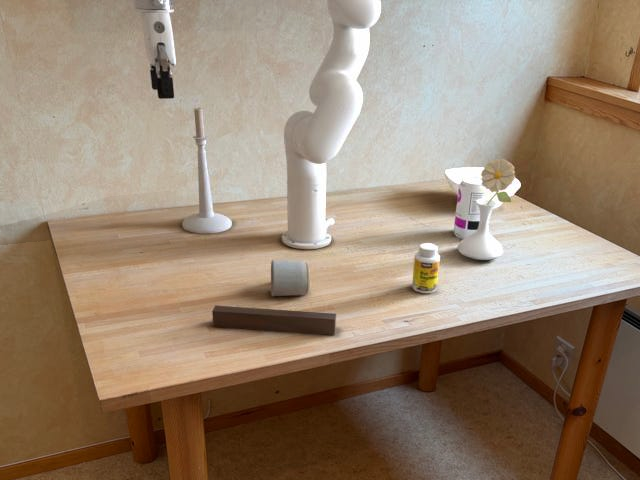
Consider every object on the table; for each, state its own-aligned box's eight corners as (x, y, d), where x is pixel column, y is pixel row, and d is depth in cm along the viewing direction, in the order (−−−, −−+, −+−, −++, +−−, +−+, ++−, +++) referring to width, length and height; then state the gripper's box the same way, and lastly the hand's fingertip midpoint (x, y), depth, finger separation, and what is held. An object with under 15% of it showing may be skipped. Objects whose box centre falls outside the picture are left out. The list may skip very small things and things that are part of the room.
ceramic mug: (311, 300, 147) (311, 266, 143) (272, 301, 146) (271, 268, 142) (305, 280, 156) (305, 248, 152) (269, 281, 154) (268, 249, 151)
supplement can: (449, 237, 183) (456, 182, 175) (458, 228, 189) (464, 174, 182) (479, 243, 180) (487, 187, 173) (487, 233, 187) (494, 178, 179)
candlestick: (172, 224, 182) (159, 105, 166) (211, 213, 190) (202, 99, 175) (202, 237, 175) (192, 115, 159) (241, 225, 183) (235, 108, 168)
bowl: (434, 195, 213) (437, 167, 209) (496, 193, 218) (500, 166, 214) (457, 218, 196) (461, 188, 192) (524, 215, 201) (529, 186, 197)
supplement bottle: (415, 295, 152) (419, 251, 147) (409, 284, 156) (412, 242, 151) (439, 293, 153) (444, 250, 148) (432, 283, 158) (436, 241, 152)
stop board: (216, 320, 137) (215, 305, 136) (335, 329, 137) (336, 313, 135) (213, 326, 135) (212, 311, 133) (334, 335, 135) (335, 319, 133)
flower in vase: (447, 252, 174) (458, 152, 161) (479, 243, 180) (492, 146, 167) (484, 270, 165) (499, 166, 152) (516, 260, 172) (533, 160, 159)
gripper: (179, 7, 131) (187, 101, 140) (166, -1, 145) (174, 85, 154) (139, 6, 129) (149, 102, 138) (129, -2, 142) (140, 86, 151)
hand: (163, 93), depth 146 cm, fingers open, 9 cm apart
